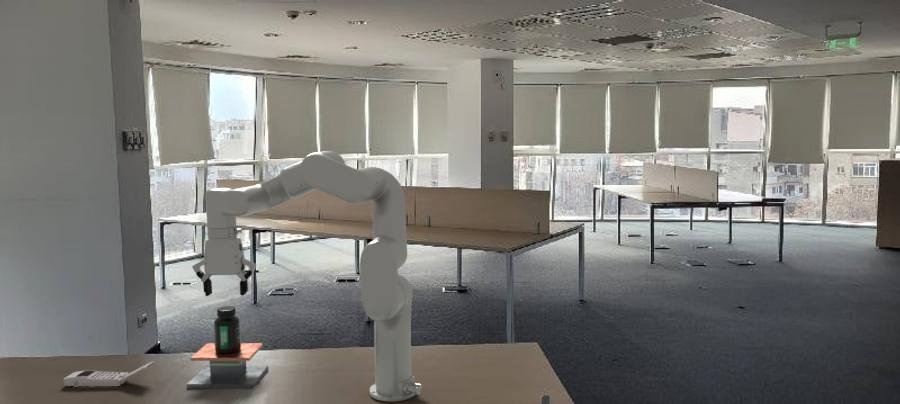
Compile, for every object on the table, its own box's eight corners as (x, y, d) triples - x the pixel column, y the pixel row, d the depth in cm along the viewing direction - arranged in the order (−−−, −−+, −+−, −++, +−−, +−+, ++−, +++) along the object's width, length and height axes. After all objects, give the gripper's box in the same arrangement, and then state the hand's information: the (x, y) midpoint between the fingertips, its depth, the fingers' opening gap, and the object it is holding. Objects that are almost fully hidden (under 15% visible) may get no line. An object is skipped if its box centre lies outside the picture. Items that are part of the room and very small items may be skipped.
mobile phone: (145, 367, 181) (53, 367, 182) (146, 388, 182) (54, 388, 182) (155, 360, 187) (66, 359, 188) (156, 380, 188) (67, 380, 188)
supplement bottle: (227, 356, 183) (225, 313, 181) (209, 351, 186) (207, 309, 185) (246, 348, 189) (244, 306, 187) (228, 344, 192) (227, 303, 190)
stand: (268, 369, 195) (267, 342, 194) (253, 388, 181) (251, 359, 180) (206, 369, 195) (205, 342, 194) (186, 388, 181) (185, 359, 181)
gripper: (258, 230, 187) (261, 290, 189) (196, 231, 187) (200, 291, 189) (249, 235, 179) (253, 297, 181) (185, 236, 180) (189, 298, 182)
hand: (226, 294), depth 185 cm, fingers open, 9 cm apart
